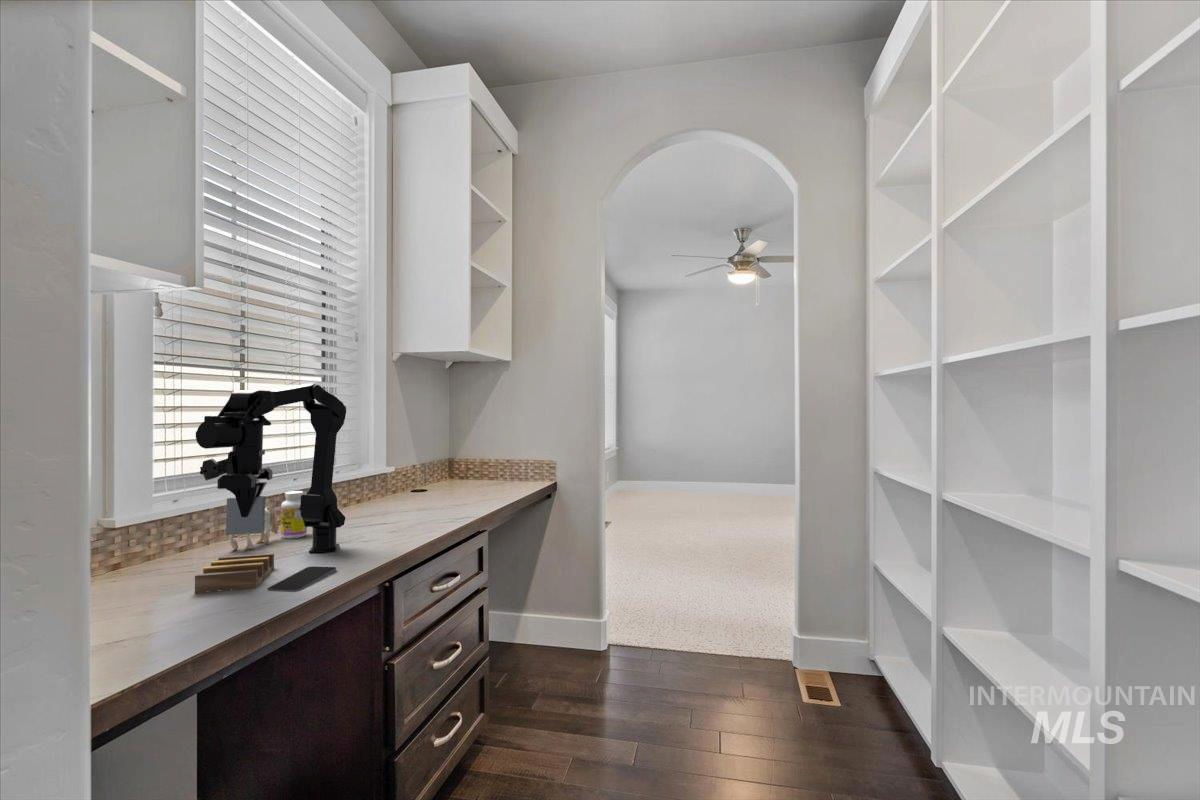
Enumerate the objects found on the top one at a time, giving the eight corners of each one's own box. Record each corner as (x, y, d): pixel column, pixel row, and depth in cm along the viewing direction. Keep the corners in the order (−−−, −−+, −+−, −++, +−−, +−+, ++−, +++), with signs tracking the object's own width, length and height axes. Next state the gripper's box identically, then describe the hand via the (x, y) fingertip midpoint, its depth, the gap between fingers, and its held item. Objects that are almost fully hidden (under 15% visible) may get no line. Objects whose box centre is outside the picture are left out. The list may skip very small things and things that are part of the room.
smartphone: (264, 589, 118) (308, 566, 133) (264, 594, 118) (308, 570, 133) (297, 590, 117) (338, 567, 132) (297, 595, 117) (338, 571, 132)
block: (229, 533, 127) (229, 497, 127) (264, 531, 129) (265, 495, 129) (226, 534, 125) (226, 498, 125) (262, 533, 127) (262, 497, 127)
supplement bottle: (276, 536, 165) (276, 492, 165) (299, 532, 170) (299, 489, 170) (288, 540, 161) (288, 494, 161) (311, 535, 166) (311, 491, 166)
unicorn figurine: (214, 558, 142) (214, 504, 142) (253, 539, 161) (253, 492, 162) (245, 557, 143) (245, 504, 143) (280, 539, 162) (280, 492, 162)
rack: (220, 572, 130) (220, 555, 130) (273, 568, 134) (274, 551, 134) (194, 593, 116) (194, 574, 116) (255, 588, 119) (255, 569, 119)
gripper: (220, 444, 134) (218, 511, 133) (189, 449, 116) (187, 526, 116) (273, 444, 137) (272, 509, 137) (251, 448, 119) (249, 523, 119)
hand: (246, 516), depth 127 cm, fingers closed on block, 2 cm apart
